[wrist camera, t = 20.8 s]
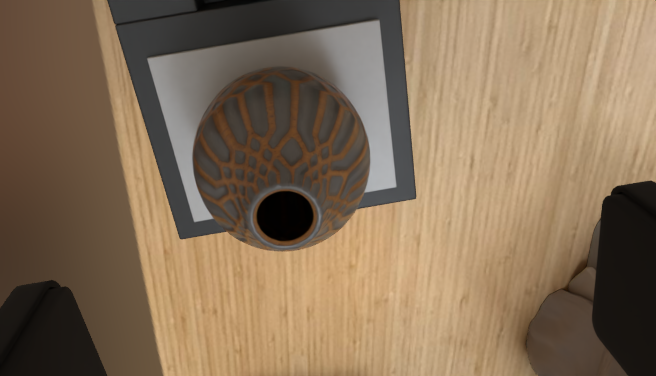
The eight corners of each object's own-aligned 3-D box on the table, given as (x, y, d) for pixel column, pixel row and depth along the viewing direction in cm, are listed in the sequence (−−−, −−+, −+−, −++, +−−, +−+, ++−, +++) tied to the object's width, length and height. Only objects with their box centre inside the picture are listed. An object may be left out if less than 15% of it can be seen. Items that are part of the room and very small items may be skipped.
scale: (92, -119, 23) (65, -126, 20) (371, -163, 24) (386, -177, 21) (188, 212, 30) (178, 243, 27) (404, 175, 30) (418, 201, 27)
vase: (286, 222, 27) (292, 341, 19) (172, 133, 25) (124, 227, 17) (387, 123, 25) (438, 209, 18) (274, 17, 23) (276, 61, 15)
